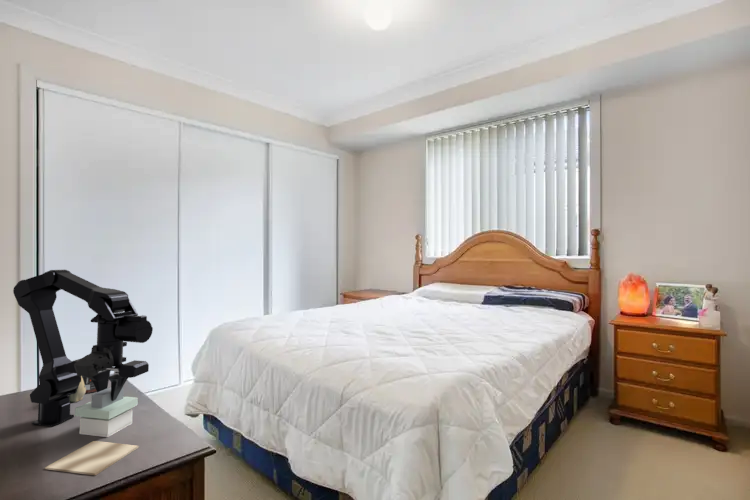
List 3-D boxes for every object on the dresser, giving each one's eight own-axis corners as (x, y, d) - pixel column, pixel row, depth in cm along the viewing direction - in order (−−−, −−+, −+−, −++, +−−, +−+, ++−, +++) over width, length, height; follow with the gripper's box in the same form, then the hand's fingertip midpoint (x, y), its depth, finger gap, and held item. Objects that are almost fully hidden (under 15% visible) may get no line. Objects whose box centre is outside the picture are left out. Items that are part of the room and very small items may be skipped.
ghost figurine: (59, 400, 119) (60, 374, 119) (78, 395, 124) (79, 370, 124) (69, 404, 116) (71, 377, 116) (89, 398, 121) (90, 373, 121)
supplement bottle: (90, 394, 125) (91, 358, 125) (75, 392, 126) (76, 357, 126) (106, 388, 131) (108, 354, 131) (91, 386, 132) (93, 352, 132)
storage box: (79, 433, 98) (80, 418, 98) (105, 420, 106) (106, 406, 106) (107, 437, 97) (108, 420, 97) (132, 423, 105) (132, 408, 105)
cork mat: (45, 469, 82) (45, 467, 82) (93, 442, 94) (93, 440, 94) (95, 475, 81) (95, 473, 81) (138, 447, 92) (138, 445, 92)
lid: (75, 416, 98) (75, 395, 98) (106, 402, 107) (107, 383, 107) (108, 419, 96) (109, 398, 96) (137, 405, 106) (138, 385, 106)
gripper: (49, 344, 95) (46, 408, 95) (117, 349, 93) (115, 415, 92) (89, 335, 106) (86, 392, 106) (151, 339, 104) (148, 398, 103)
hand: (108, 399), depth 102 cm, fingers closed on lid, 3 cm apart
